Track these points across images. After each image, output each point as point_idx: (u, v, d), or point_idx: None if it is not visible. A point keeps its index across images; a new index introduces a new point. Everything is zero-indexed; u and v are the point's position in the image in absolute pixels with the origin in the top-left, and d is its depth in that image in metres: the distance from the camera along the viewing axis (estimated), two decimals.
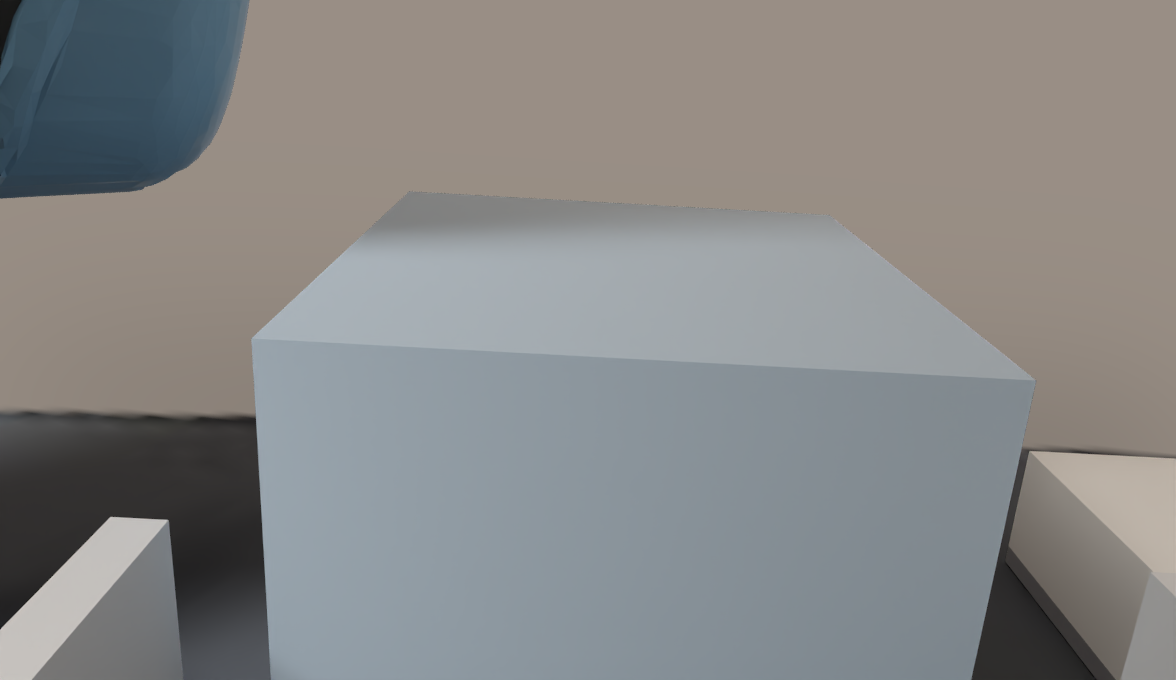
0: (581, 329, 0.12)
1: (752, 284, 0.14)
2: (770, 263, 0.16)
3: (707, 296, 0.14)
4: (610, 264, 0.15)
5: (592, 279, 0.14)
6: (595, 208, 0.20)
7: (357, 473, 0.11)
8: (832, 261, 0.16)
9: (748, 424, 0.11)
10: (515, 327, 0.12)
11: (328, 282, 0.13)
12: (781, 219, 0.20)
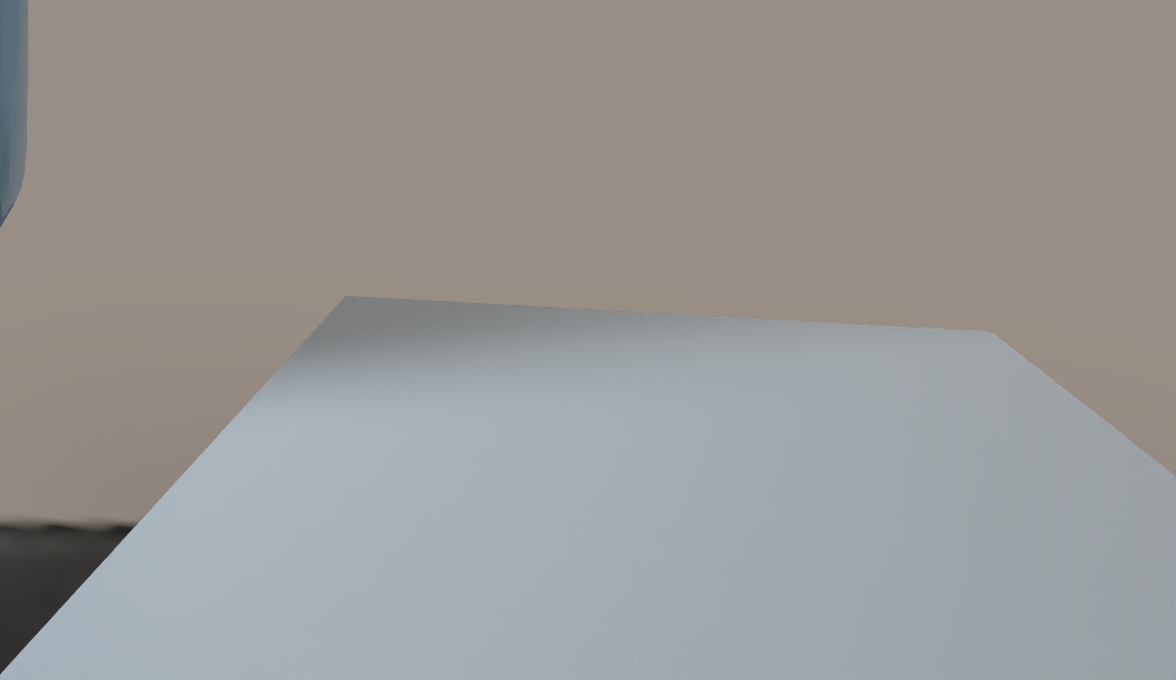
0: None
1: (966, 563, 0.07)
2: (965, 480, 0.09)
3: (896, 618, 0.07)
4: (682, 503, 0.08)
5: (652, 561, 0.07)
6: (633, 328, 0.13)
7: None
8: (1066, 466, 0.09)
9: None
10: None
11: (93, 614, 0.06)
12: (924, 345, 0.13)
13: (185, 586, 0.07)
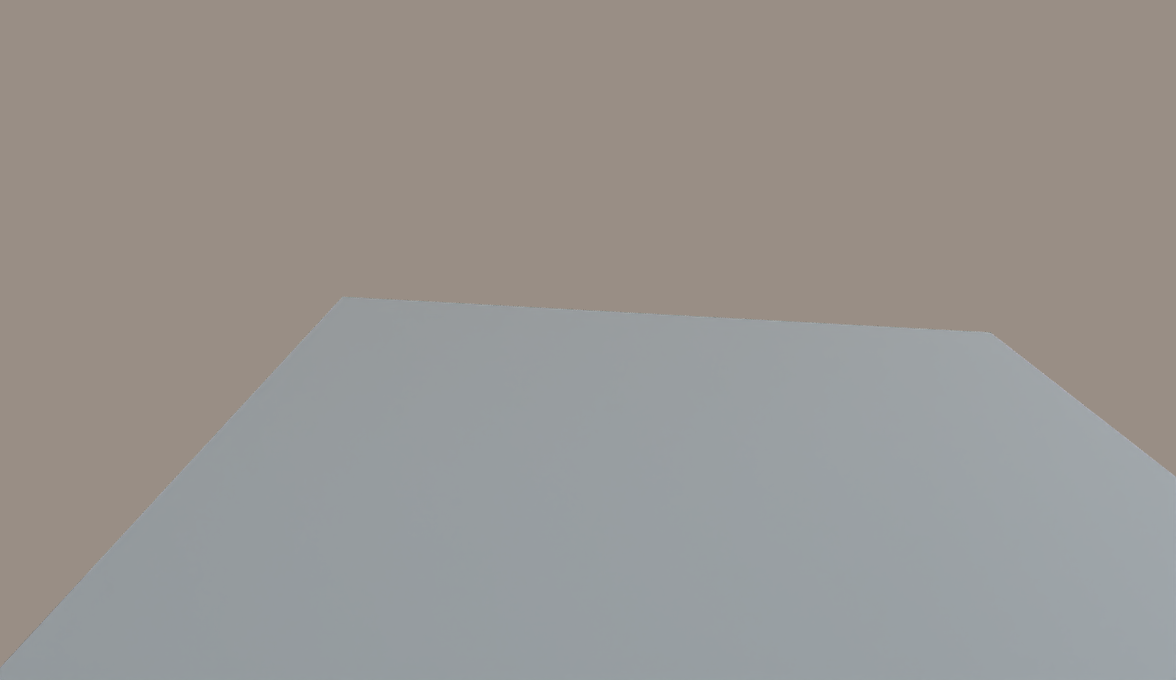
0: None
1: (966, 567, 0.07)
2: (965, 483, 0.09)
3: (896, 624, 0.07)
4: (679, 505, 0.08)
5: (650, 565, 0.07)
6: (631, 329, 0.13)
7: None
8: (1067, 468, 0.09)
9: None
10: None
11: (83, 619, 0.06)
12: (924, 346, 0.12)
13: (176, 591, 0.06)
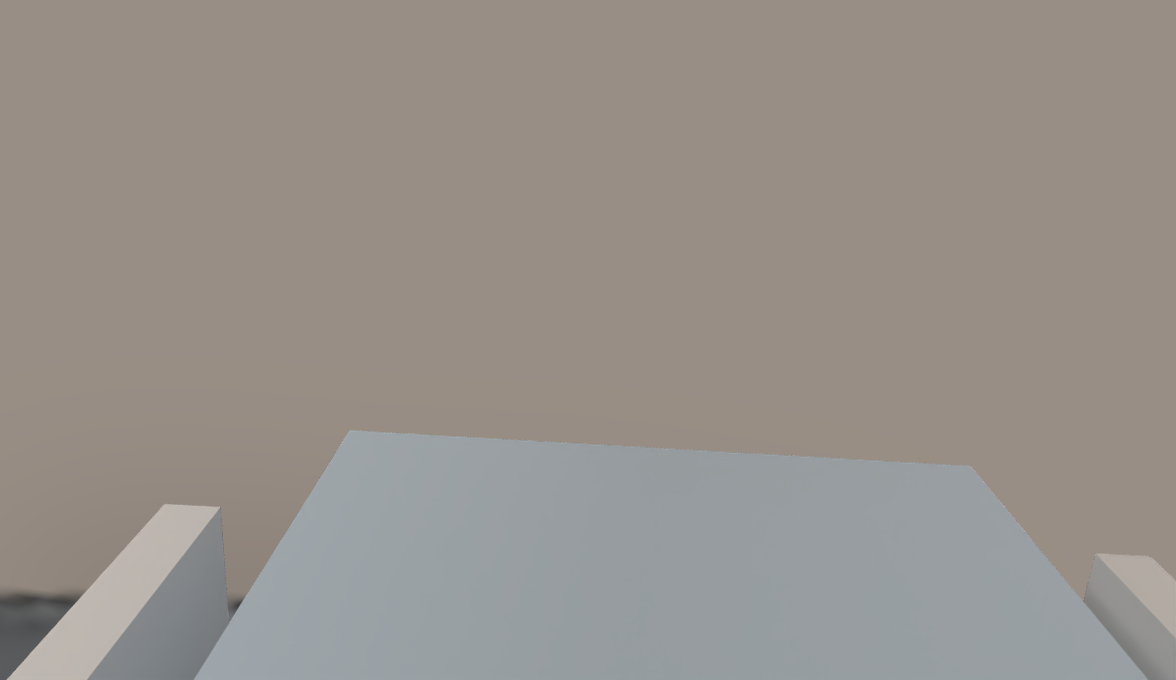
0: None
1: None
2: (932, 673, 0.09)
3: None
4: None
5: None
6: (624, 469, 0.13)
7: None
8: (1030, 652, 0.10)
9: None
10: None
11: None
12: (905, 487, 0.13)
13: None
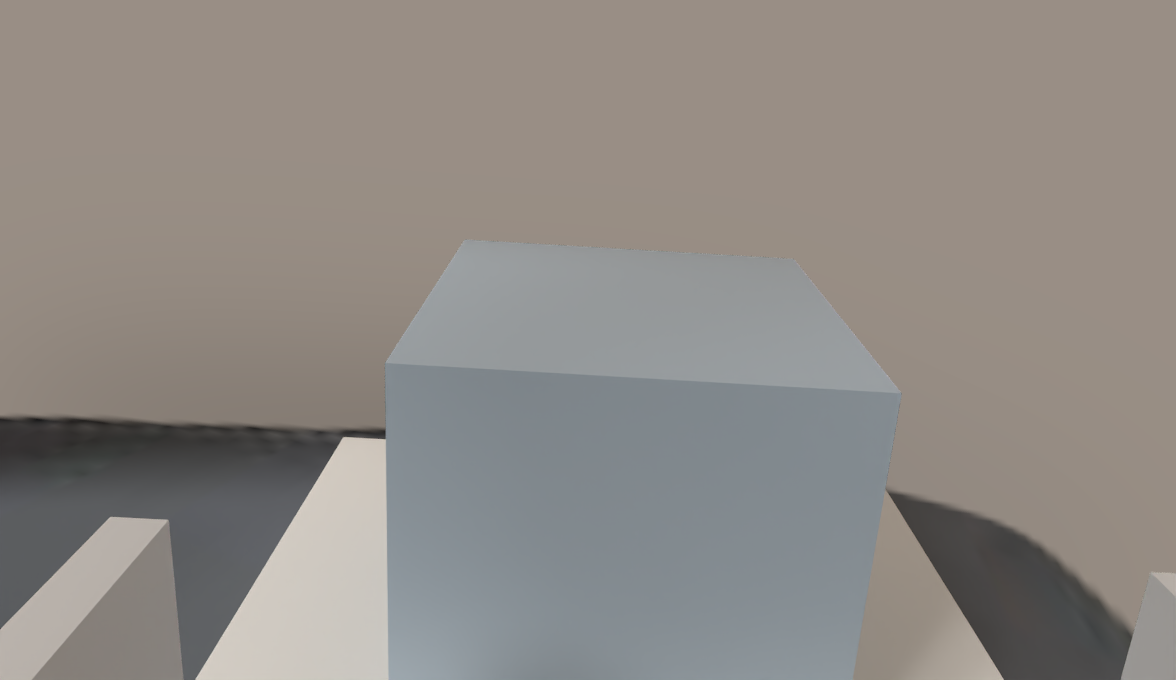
0: (600, 356, 0.18)
1: (722, 321, 0.20)
2: (739, 303, 0.22)
3: (689, 330, 0.19)
4: (621, 305, 0.21)
5: (607, 317, 0.20)
6: (610, 254, 0.25)
7: (451, 452, 0.17)
8: (785, 301, 0.22)
9: (711, 421, 0.17)
10: (555, 355, 0.17)
11: (424, 321, 0.19)
12: (754, 263, 0.25)
13: (448, 317, 0.19)
